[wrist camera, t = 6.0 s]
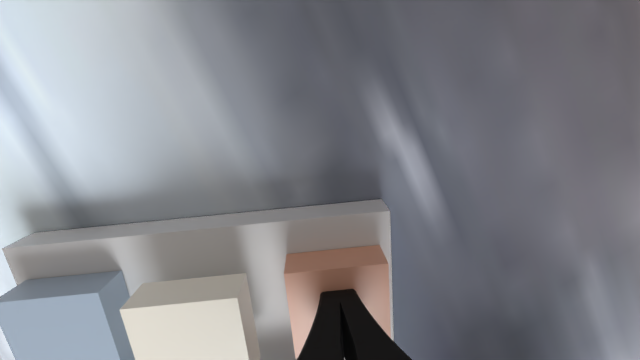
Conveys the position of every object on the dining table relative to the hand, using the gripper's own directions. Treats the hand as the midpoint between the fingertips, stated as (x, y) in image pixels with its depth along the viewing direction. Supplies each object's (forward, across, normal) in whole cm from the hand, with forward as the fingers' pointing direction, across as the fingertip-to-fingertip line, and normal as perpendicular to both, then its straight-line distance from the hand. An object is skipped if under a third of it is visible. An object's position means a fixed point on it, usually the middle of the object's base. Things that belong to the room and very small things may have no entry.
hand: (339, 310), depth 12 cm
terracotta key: (+1, 0, 0) cm, 1 cm away
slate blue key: (+1, +11, 0) cm, 11 cm away
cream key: (0, +5, 0) cm, 5 cm away
